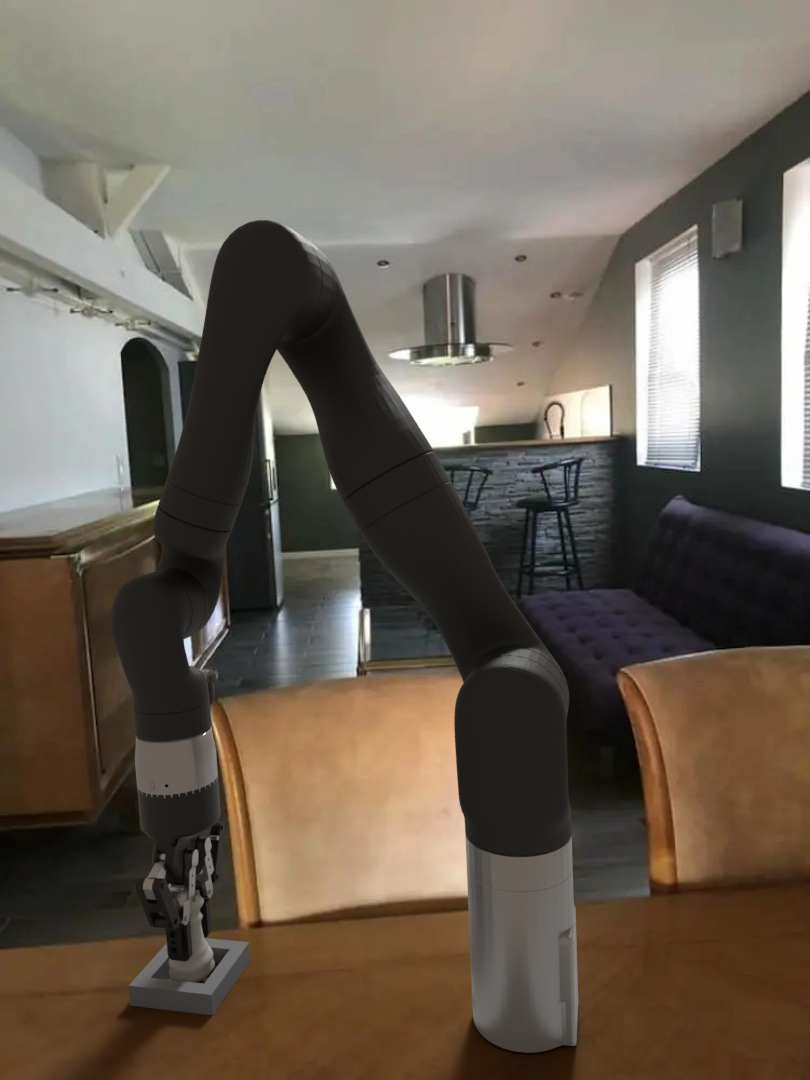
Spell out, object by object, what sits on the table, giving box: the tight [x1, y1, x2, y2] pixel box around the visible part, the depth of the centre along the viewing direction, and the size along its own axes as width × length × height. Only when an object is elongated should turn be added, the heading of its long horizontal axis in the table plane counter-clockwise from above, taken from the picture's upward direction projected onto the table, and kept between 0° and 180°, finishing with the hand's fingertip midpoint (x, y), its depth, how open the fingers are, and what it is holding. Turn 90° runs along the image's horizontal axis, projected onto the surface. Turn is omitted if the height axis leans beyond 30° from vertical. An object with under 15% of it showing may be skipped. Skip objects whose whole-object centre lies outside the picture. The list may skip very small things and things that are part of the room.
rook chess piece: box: [168, 890, 215, 983], centre depth 82 cm, size 4×4×8 cm
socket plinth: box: [128, 937, 251, 1016], centre depth 82 cm, size 8×8×2 cm
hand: (190, 945), depth 82 cm, fingers closed on rook chess piece, 3 cm apart
